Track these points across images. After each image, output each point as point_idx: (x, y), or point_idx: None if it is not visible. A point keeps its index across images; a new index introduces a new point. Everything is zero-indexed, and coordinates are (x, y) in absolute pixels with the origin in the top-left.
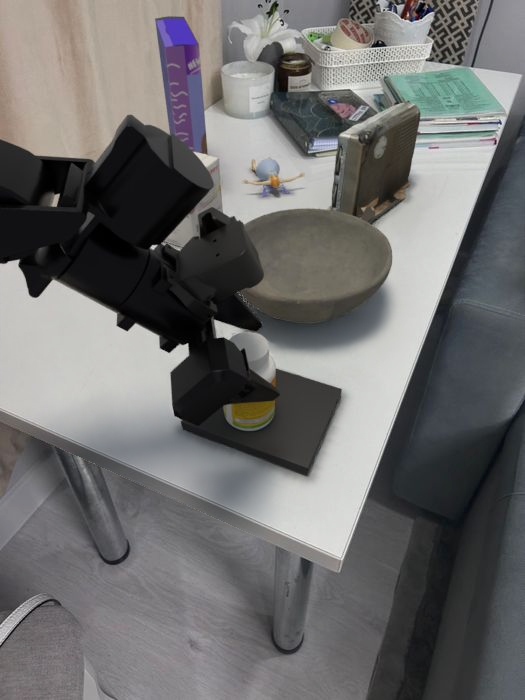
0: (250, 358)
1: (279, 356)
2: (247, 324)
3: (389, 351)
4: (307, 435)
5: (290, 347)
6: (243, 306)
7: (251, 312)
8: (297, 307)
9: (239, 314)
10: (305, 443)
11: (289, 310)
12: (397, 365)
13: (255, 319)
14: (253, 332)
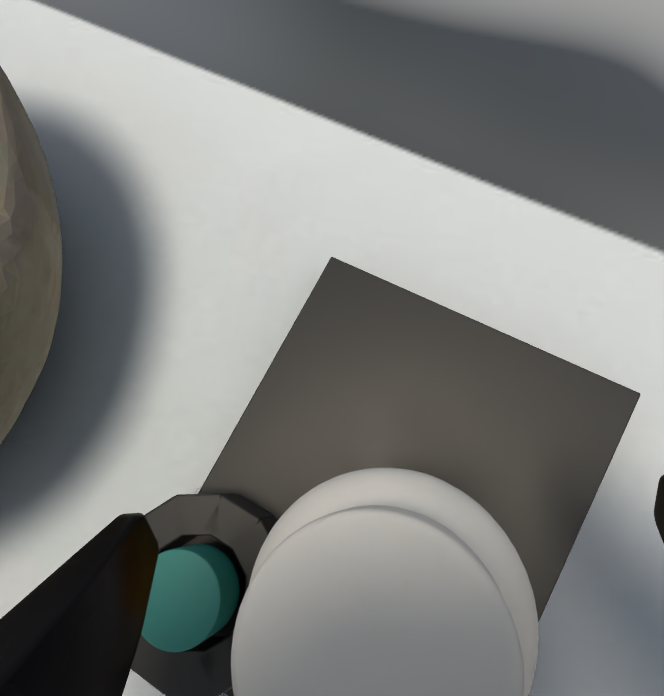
0: (502, 659)
1: (155, 432)
2: (126, 610)
3: (190, 125)
4: (510, 380)
5: (124, 393)
6: (18, 673)
7: (63, 594)
8: (10, 333)
9: (64, 685)
10: (542, 390)
11: (12, 369)
12: (242, 113)
13: (110, 562)
14: (243, 600)
